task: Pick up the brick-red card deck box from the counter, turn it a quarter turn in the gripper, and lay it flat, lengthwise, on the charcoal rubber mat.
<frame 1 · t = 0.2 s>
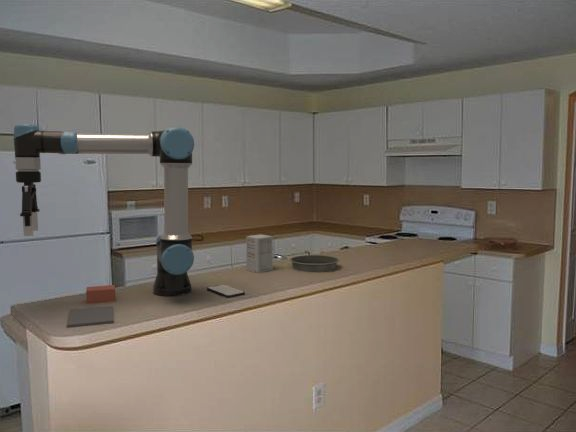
hand: (31, 233, 173), 27 cm above the countertop, tool pointing down, fingers open, 13 cm apart
supplement box: (259, 270, 246), on the countertop
rubber mat: (91, 317, 170), on the countertop
cake pan: (314, 268, 253), on the countertop
phone case: (225, 293, 203), on the countertop
card deck box: (101, 301, 190), on the countertop
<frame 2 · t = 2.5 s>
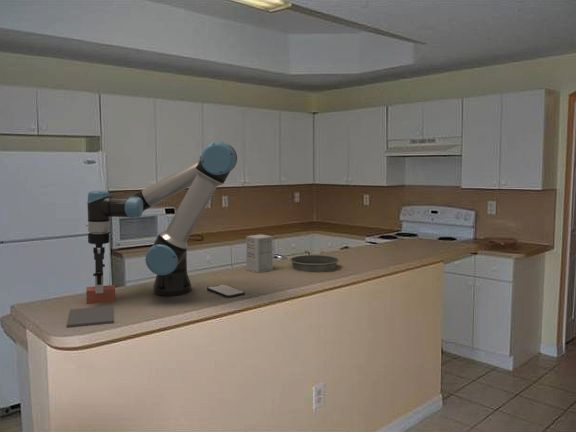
hand: (99, 288, 190), 5 cm above the countertop, tool pointing down, fingers open, 13 cm apart
nothing on the countertop moved.
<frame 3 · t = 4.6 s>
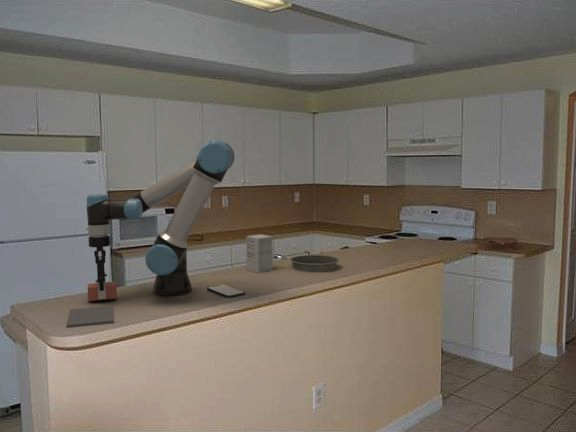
hand: (102, 296, 190), 2 cm above the countertop, tool pointing down, fingers closed on card deck box, 6 cm apart
card deck box: (102, 297, 190), point 1 cm above the countertop, touching gripper
everything else where it was.
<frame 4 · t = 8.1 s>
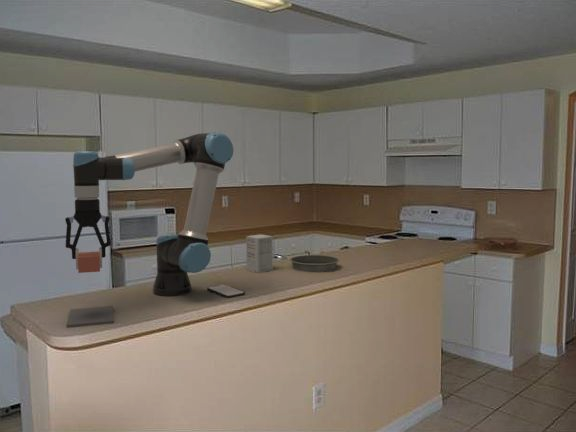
hand: (89, 267, 168), 17 cm above the countertop, tool pointing down, fingers closed on card deck box, 6 cm apart
card deck box: (89, 269, 168), point 16 cm above the countertop, touching gripper
everything else where it was.
when the fingers open (2 cm above the countertop, at t = 11.5 s): card deck box stays where it is, resting on rubber mat.
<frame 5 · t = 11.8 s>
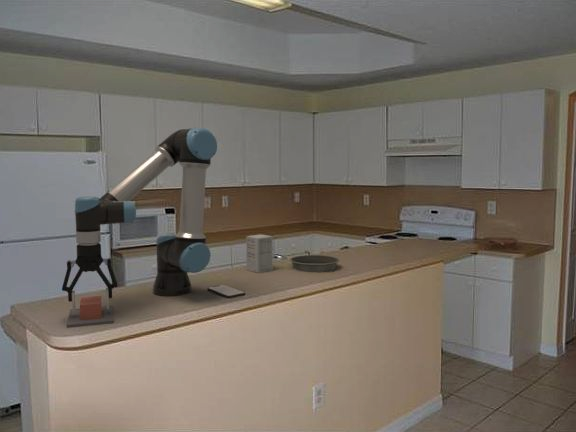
hand: (91, 309, 169), 3 cm above the countertop, tool pointing down, fingers open, 10 cm apart
card deck box: (91, 314, 170), point 1 cm above the countertop, touching rubber mat
everything else where it was.
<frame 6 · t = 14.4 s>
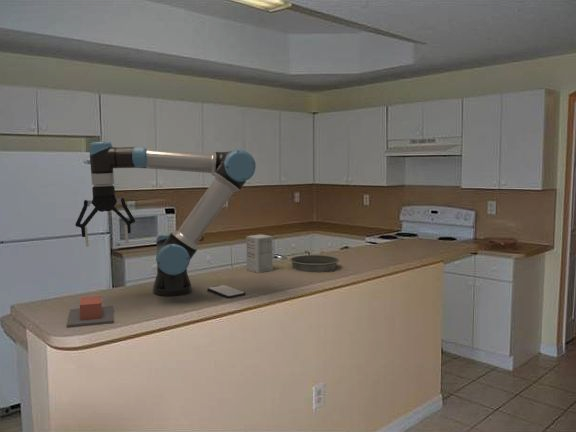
hand: (107, 244, 183), 22 cm above the countertop, tool pointing down, fingers open, 13 cm apart
nothing on the countertop moved.
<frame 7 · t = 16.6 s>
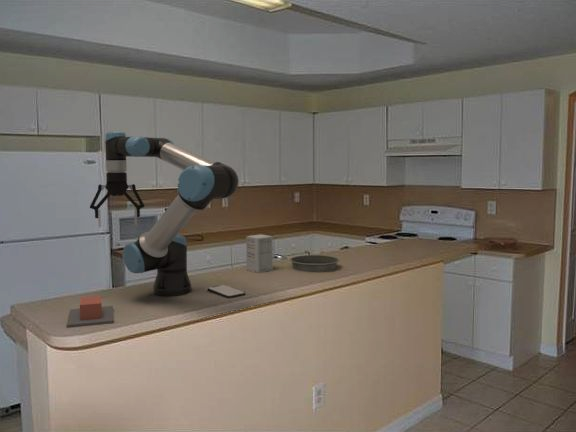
hand: (118, 226, 199), 27 cm above the countertop, tool pointing down, fingers open, 13 cm apart
nothing on the countertop moved.
at the end: card deck box inside the target area on the rubber mat (0.1 cm from its centre), point 0.8 cm above the rubber mat's base; card deck box touching rubber mat; the gripper is holding nothing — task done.
